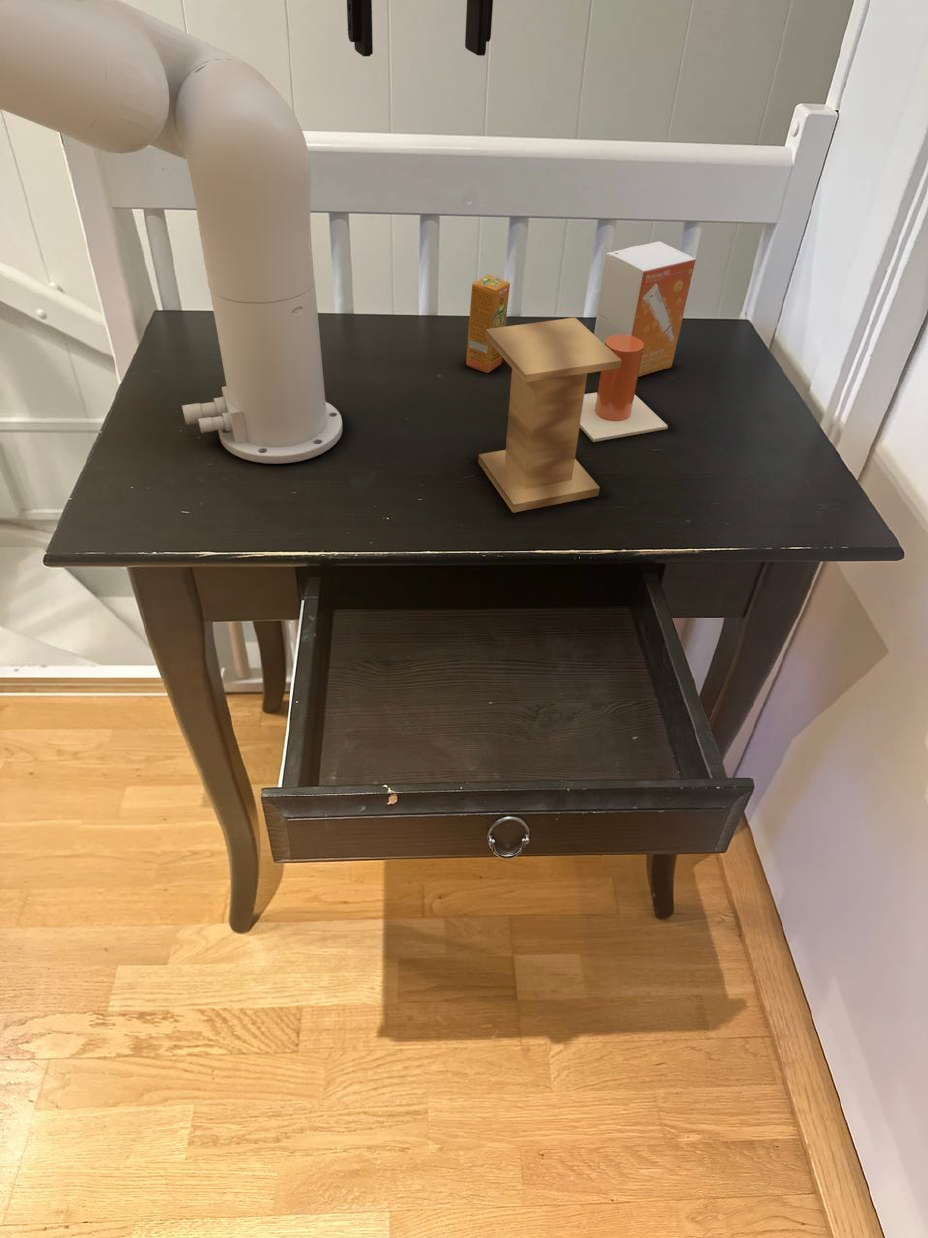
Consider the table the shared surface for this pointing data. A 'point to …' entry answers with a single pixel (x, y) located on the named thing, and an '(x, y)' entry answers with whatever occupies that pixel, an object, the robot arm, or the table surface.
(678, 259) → the small box
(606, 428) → the cream coaster
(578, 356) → the birch stand
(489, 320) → the supplement box
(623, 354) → the orange cylinder
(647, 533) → the table surface
